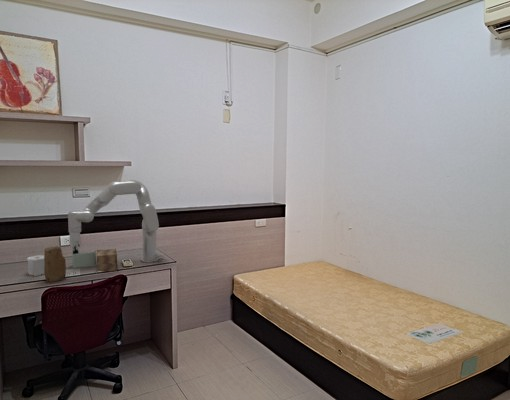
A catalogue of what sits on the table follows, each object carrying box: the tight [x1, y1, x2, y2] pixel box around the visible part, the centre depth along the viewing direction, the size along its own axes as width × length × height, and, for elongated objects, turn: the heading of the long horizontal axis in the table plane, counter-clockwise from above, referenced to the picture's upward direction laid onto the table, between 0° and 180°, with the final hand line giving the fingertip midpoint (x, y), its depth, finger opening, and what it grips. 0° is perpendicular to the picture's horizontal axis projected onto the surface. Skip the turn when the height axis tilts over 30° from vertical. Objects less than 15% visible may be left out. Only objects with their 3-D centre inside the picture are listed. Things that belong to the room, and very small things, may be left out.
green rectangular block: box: [72, 250, 97, 269], centre depth 249 cm, size 3×14×10 cm, turn 123°
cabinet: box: [96, 248, 118, 272], centre depth 248 cm, size 12×14×11 cm
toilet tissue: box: [26, 254, 45, 277], centre depth 234 cm, size 11×12×10 cm
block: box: [43, 245, 67, 283], centre depth 223 cm, size 11×8×20 cm
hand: (75, 256), depth 249 cm, fingers closed
